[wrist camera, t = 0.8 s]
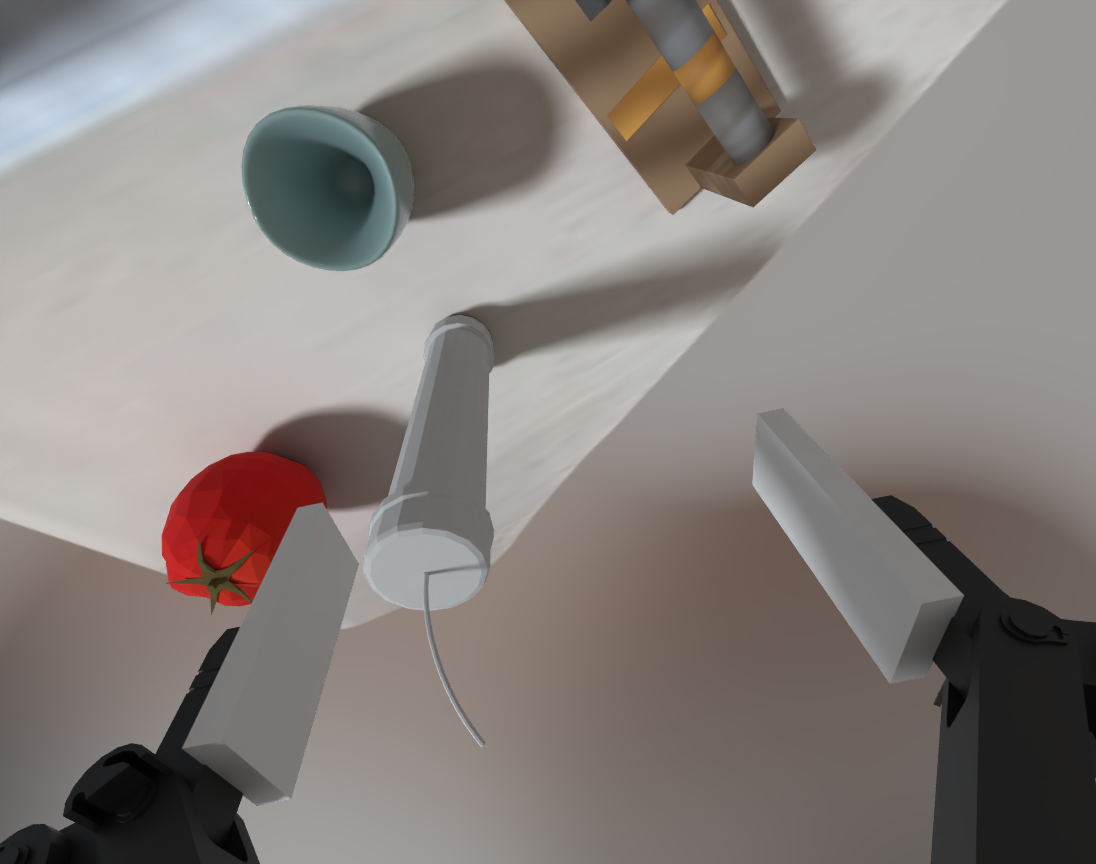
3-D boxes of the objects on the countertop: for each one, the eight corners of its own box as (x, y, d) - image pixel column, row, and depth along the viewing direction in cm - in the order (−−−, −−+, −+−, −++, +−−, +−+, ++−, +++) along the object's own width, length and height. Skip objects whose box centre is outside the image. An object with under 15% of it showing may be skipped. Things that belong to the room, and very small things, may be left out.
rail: (431, -95, 27) (403, -180, 19) (548, -275, 24) (573, -466, 16) (669, 212, 37) (716, 240, 29) (773, 110, 34) (859, 110, 26)
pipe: (459, 297, 39) (391, 640, 14) (514, 350, 42) (542, 715, 17) (412, 342, 40) (276, 722, 15) (469, 391, 43) (431, 777, 18)
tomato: (178, 454, 44) (72, 568, 33) (297, 406, 43) (227, 509, 32) (263, 538, 50) (198, 658, 39) (370, 499, 49) (334, 612, 38)
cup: (425, 119, 32) (400, 122, 24) (422, 242, 36) (399, 282, 28) (298, 95, 31) (224, 90, 23) (309, 226, 35) (251, 262, 27)
